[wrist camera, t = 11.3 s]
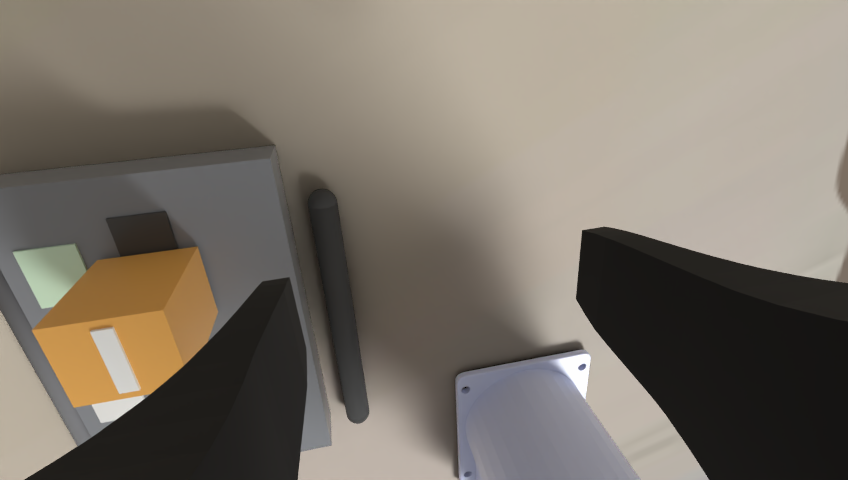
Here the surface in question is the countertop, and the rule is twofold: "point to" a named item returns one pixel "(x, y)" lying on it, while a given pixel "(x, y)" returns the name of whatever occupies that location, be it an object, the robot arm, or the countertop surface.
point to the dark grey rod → (339, 301)
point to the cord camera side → (40, 362)
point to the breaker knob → (128, 325)
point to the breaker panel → (159, 241)
